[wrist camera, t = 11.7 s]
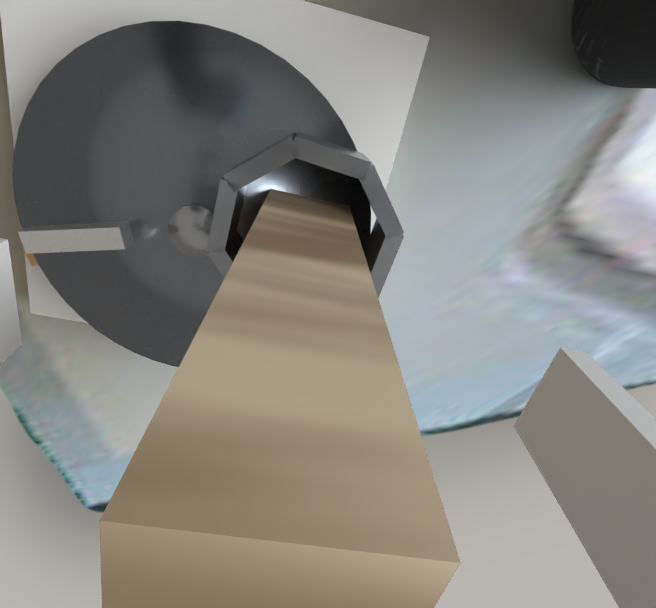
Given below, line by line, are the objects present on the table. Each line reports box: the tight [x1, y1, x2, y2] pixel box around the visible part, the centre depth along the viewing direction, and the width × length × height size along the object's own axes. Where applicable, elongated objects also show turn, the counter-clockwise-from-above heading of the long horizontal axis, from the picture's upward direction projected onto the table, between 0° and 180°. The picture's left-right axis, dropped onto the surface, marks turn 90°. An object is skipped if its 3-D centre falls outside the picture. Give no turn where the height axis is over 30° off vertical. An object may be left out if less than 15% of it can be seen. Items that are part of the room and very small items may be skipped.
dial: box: [13, 21, 404, 367], centre depth 19 cm, size 16×16×5 cm
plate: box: [0, 0, 430, 324], centre depth 21 cm, size 18×18×2 cm
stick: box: [100, 189, 460, 608], centre depth 12 cm, size 4×4×16 cm
